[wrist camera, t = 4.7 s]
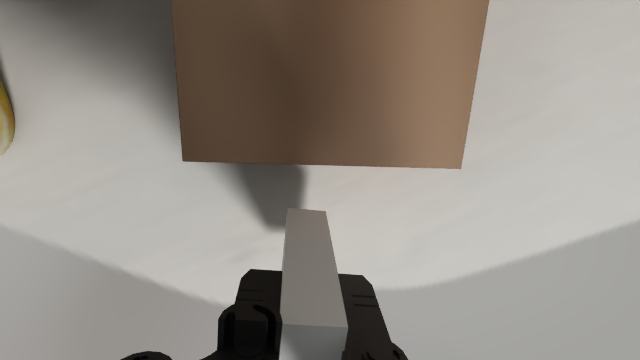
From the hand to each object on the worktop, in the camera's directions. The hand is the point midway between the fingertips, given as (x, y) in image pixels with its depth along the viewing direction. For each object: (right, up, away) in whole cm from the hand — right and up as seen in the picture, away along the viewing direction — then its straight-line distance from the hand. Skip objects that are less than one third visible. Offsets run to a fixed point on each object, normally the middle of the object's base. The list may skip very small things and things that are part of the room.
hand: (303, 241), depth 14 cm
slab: (+1, +9, -1) cm, 9 cm away
